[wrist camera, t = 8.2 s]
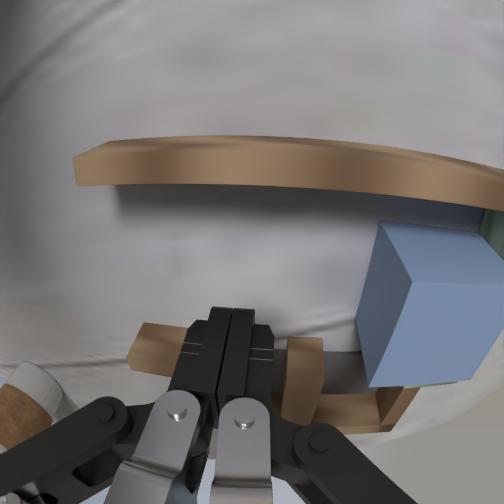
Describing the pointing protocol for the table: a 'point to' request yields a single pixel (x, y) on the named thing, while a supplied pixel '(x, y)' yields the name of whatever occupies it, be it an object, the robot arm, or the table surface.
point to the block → (429, 305)
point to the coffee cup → (27, 404)
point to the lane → (305, 176)
